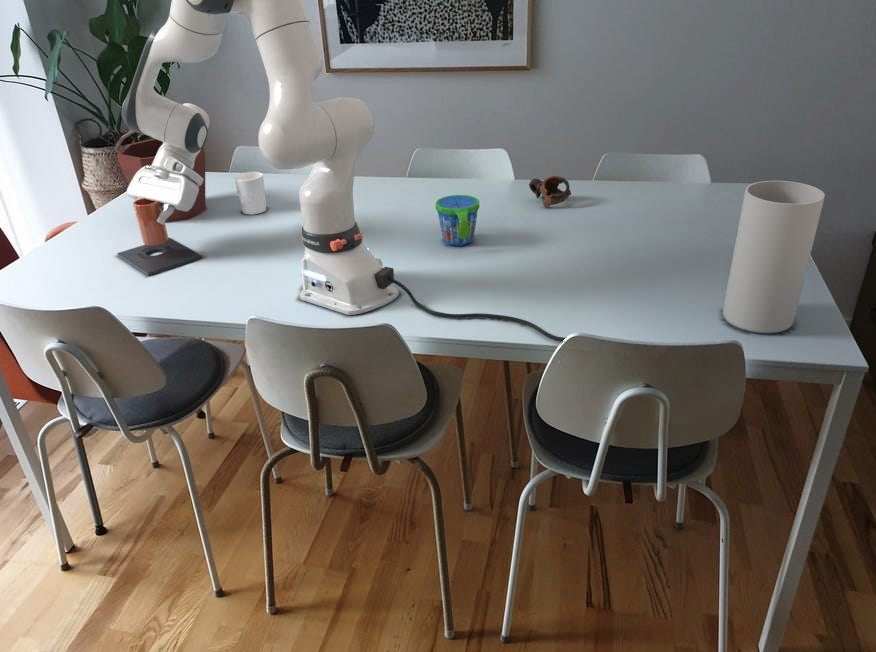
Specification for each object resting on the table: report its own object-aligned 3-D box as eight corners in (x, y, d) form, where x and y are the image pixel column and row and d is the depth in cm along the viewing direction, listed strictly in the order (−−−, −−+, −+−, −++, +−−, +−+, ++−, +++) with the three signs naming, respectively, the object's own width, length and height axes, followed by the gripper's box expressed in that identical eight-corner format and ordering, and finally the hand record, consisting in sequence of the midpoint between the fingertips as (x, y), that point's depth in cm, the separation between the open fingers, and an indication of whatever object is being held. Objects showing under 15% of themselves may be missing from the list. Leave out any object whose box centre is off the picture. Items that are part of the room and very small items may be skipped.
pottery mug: (572, 198, 204) (577, 178, 197) (560, 223, 200) (564, 203, 193) (532, 184, 207) (536, 163, 200) (519, 208, 203) (522, 188, 196)
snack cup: (435, 230, 188) (433, 192, 183) (476, 228, 188) (475, 189, 183) (438, 255, 174) (437, 214, 169) (483, 252, 175) (482, 211, 169)
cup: (172, 240, 180) (163, 200, 174) (149, 247, 176) (139, 207, 171) (162, 234, 184) (152, 195, 178) (139, 241, 180) (128, 201, 175)
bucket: (230, 199, 218) (213, 113, 205) (199, 227, 199) (178, 133, 186) (154, 199, 222) (133, 114, 209) (116, 225, 204) (91, 134, 191)
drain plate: (202, 258, 180) (201, 255, 180) (148, 276, 173) (147, 273, 172) (169, 239, 192) (168, 237, 192) (117, 256, 185) (116, 253, 184)
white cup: (262, 215, 204) (256, 180, 199) (236, 215, 206) (229, 180, 201) (272, 206, 211) (267, 171, 206) (247, 205, 212) (241, 171, 207)
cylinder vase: (714, 304, 146) (736, 181, 133) (780, 304, 145) (809, 180, 132) (732, 335, 136) (757, 204, 123) (803, 335, 134) (836, 203, 121)
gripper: (133, 157, 181) (111, 208, 179) (190, 167, 171) (167, 221, 169) (152, 170, 186) (130, 219, 184) (208, 181, 176) (186, 233, 174)
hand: (148, 220), depth 177 cm, fingers closed on cup, 6 cm apart
